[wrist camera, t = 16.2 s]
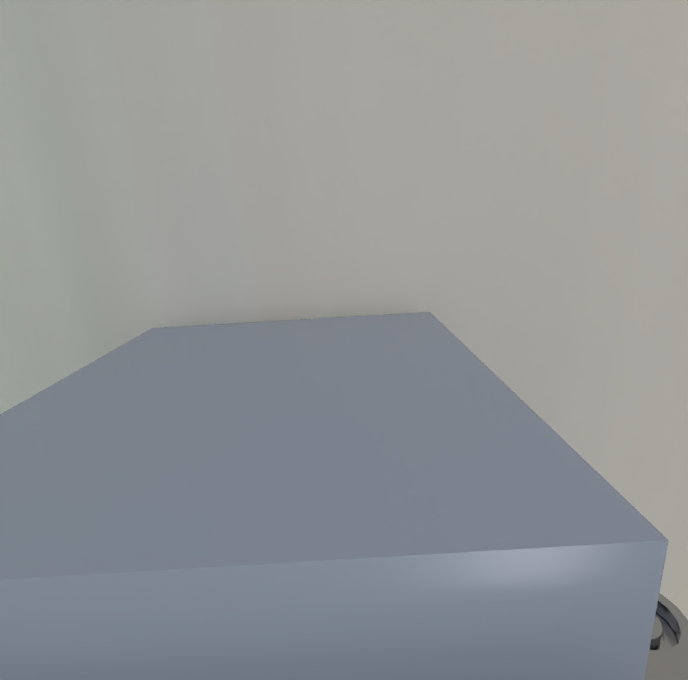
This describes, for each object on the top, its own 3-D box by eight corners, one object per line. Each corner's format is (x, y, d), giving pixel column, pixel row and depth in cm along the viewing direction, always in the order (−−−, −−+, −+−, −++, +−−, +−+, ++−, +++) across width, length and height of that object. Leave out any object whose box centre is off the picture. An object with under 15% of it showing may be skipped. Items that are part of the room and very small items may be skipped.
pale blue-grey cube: (152, 328, 12) (-323, 598, 3) (429, 312, 12) (668, 540, 3) (193, 557, 14) (-33, 1088, 5) (430, 544, 14) (578, 1053, 5)
